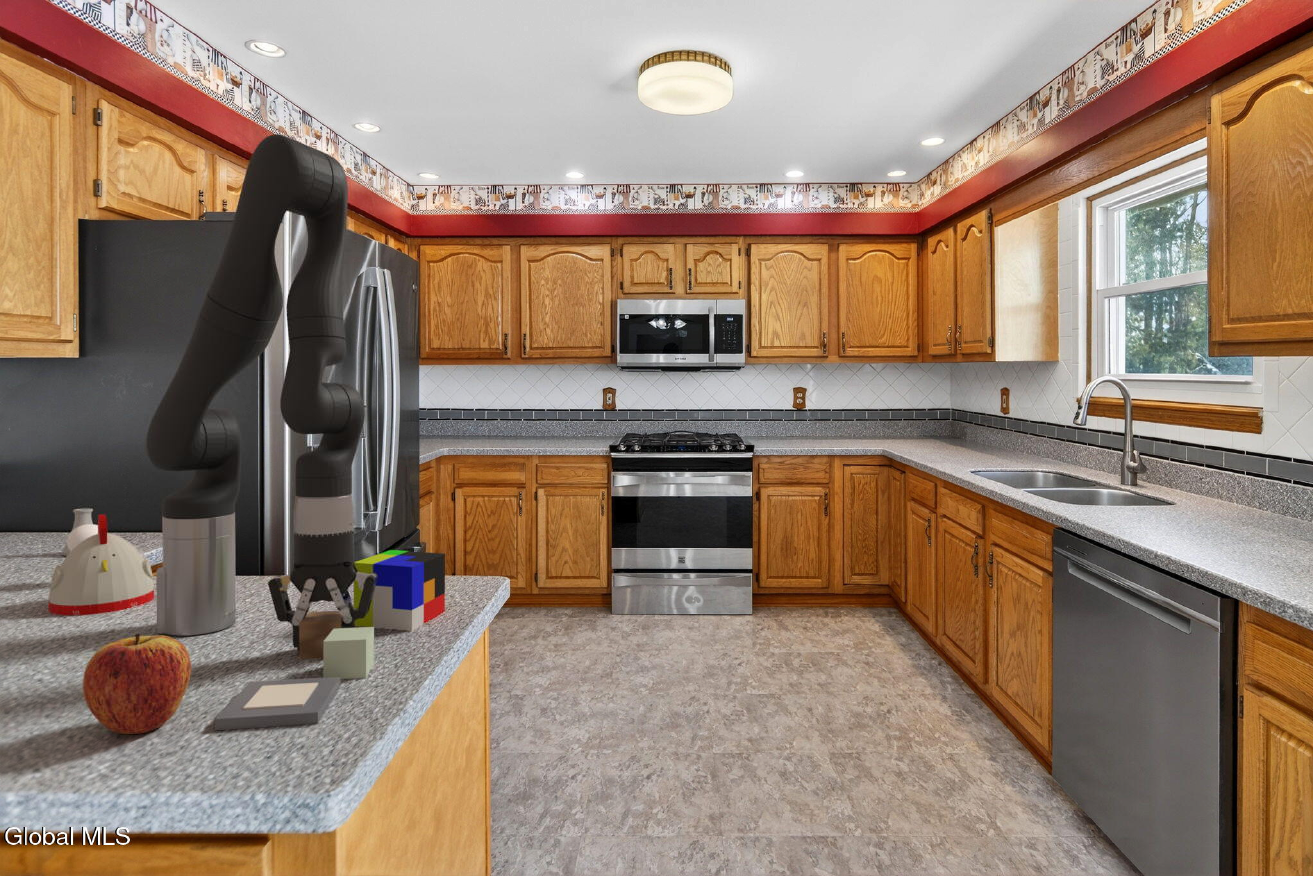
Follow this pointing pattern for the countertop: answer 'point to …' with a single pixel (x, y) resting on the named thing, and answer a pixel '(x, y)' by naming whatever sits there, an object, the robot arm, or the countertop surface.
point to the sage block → (349, 652)
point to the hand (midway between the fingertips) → (324, 648)
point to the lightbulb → (81, 535)
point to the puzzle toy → (403, 589)
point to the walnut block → (316, 632)
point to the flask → (79, 523)
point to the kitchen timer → (101, 576)
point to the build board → (279, 703)
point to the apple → (137, 682)
